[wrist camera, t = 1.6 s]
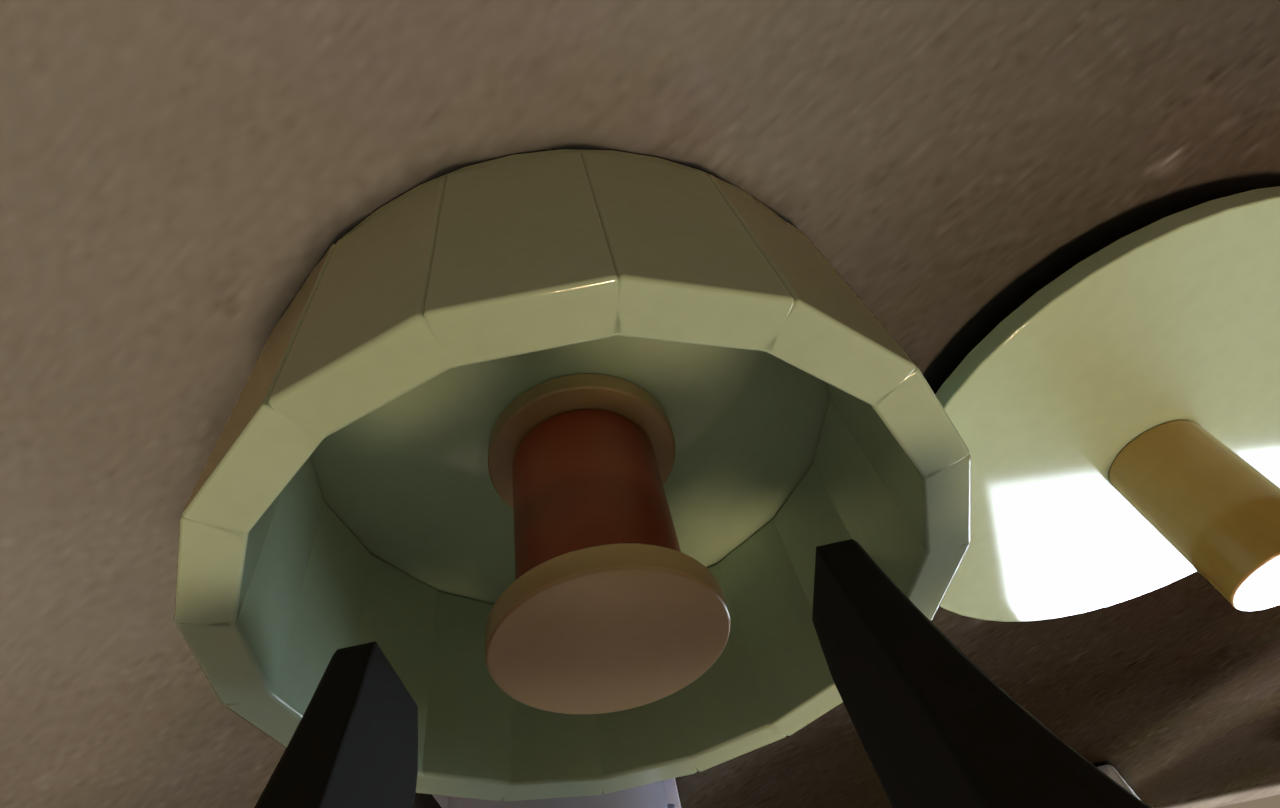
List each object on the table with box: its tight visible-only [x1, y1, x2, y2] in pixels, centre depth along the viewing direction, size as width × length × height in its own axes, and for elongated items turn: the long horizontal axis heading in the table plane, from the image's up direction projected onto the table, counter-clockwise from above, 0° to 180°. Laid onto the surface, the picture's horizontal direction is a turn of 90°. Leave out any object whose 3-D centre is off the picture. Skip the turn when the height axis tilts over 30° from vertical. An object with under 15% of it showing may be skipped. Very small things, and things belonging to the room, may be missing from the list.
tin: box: [174, 149, 971, 802], centre depth 13 cm, size 13×13×5 cm
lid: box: [935, 186, 1280, 622], centre depth 16 cm, size 14×14×5 cm
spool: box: [485, 374, 731, 714], centre depth 13 cm, size 4×4×5 cm
